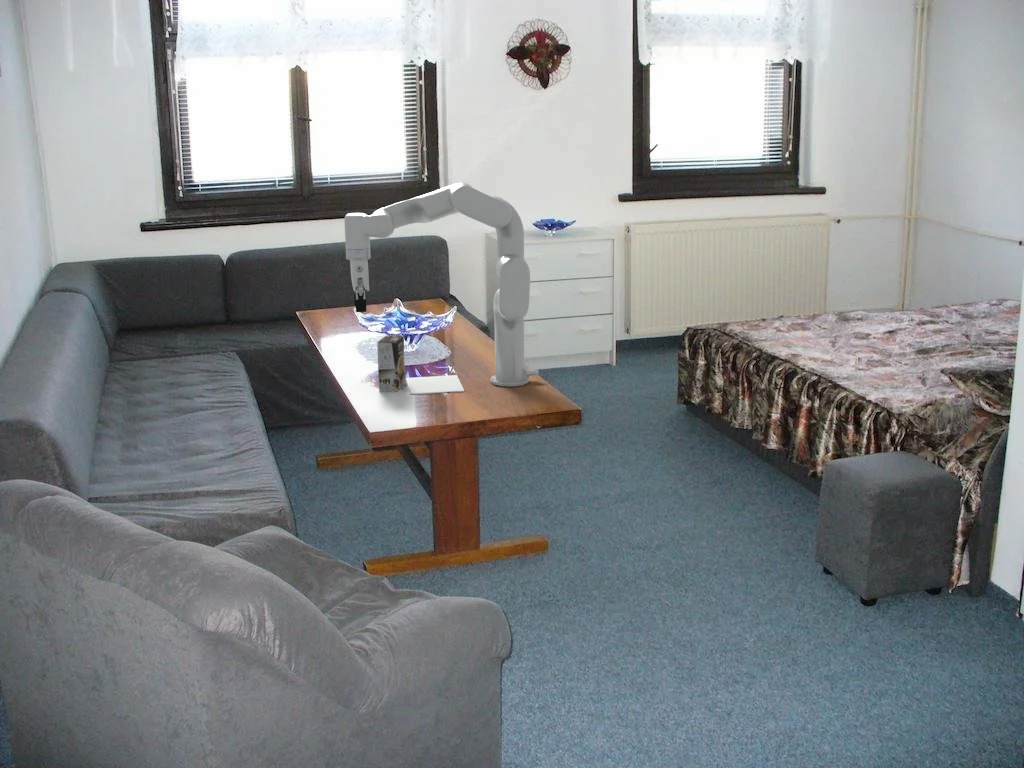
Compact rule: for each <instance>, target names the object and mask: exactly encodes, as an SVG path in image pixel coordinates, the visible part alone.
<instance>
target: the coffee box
mask: <svg viewBox="0 0 1024 768" xmlns="http://www.w3.org/2000/svg"><path fill="white" fill-rule="evenodd" d="M404 339H405V337H404V336H400V335H393V336H392V335H391V336H389V335H385V336H384V337H383V338H381V339H380V340H379V341H377V343H376V344H377V365H378V366H377V368H378V370H377V371H378V391H379V390H382V391H381V392H390V391H394V392H393V393H398V392H399V391H400V390H401V389H402V388H403V387H404V386H405V385H406V370H405V369H406V366H405V365H406V363H405V362H406V361H405V340H404Z"/></svg>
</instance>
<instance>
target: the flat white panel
mask: <svg viewBox="0 0 1024 768" xmlns="http://www.w3.org/2000/svg"><path fill="white" fill-rule="evenodd" d="M405 383H406V385H407V387H408V391H409V394H410V395H411V394H416V395H429V394H445V393H444V392H450V393H463V392H465V390H464V387H463V385H462V383H461V381H460V378H459V377H458V375H457V374H453V375H436V376H435V375H433V376H418V377H417V376H416V377H405Z"/></svg>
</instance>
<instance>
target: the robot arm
mask: <svg viewBox="0 0 1024 768" xmlns="http://www.w3.org/2000/svg"><path fill="white" fill-rule="evenodd" d="M456 213H460V214H462V215H464V216H466V217H468V218H470V219H472V220H474V221H477V222H480V223H482V224H484V225H487V226H489V227H491V228H494V229H495V231H496V246H497V247H496V248H497V249H496V265H495V272H496V274H497V276H498V278H499V288H498V289H497V290H496V291H495V293H494V296H493V299H492V307H493V309H492V310H493V318H494V319H493V320H494V322H493V323H494V375H492V376H491V377H490V379H489V381H490V383H491V384H492V385H495V386H497V385H498V387H505V386H506V387H512V388H513V387H520V386H521V387H522V386H524V385H527V384H528V383H529V382H530V376H531V377H539V374H540V370H539V369H534V368H528V369H527V368H526V367H525V316H526V317H527V314H528V311H529V307H530V289H531V288H530V287H531V271H530V267H529V264H528V262H526V260H525V233H524V232H525V231H524V230H525V229H524V224H523V221H522V219H521V216H520V215H519V213H518V211H517V210H516V208H515V207H514V206H513V205H512V204H510V202H508V201H507V200H505V199H503V198H501V197H499V196H496V195H495V196H494V195H493V196H491V195H488V194H486V193H484V192H482V191H479V190H478V189H475V188H474V187H473V186H471V185H470V184H469V183H466V182H458V183H453V184H451V185H450V184H449V185H447V186H445V187H441V188H440V189H439V188H438V189H436V190H434V191H431V192H428V193H425V194H422V195H419V196H415V197H413V198H410V199H406V200H402V201H399V202H395V203H393V204H390V205H387V206H385V207H381V208H379V209H377V210H374V212H372V214H370V215H368V214H367V213H364V212H350V213H347V214H345V216H344V221H343V223H344V238H345V240H344V241H345V259H346V260H347V261H348V260H349V264H350V277H351V279H350V280H351V284H352V285H351V286H352V289H353V292H354V294H353V296H354V297H353V299H354V306H355V312H356V313H366V312H367V299H366V291H367V292H369V291H370V279H369V263H368V260H370V259H371V258H372V256H371V238H376V239H377V238H378V239H385V238H388V237H390V236H391V235H393V233H394V232H395V230H396V229H399V228H401V227H404V226H407V225H412V224H425V223H432V222H434V221H438V220H440V219H442V218H445V217H448V216H450V215H451V216H452V215H455V214H456Z"/></svg>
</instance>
